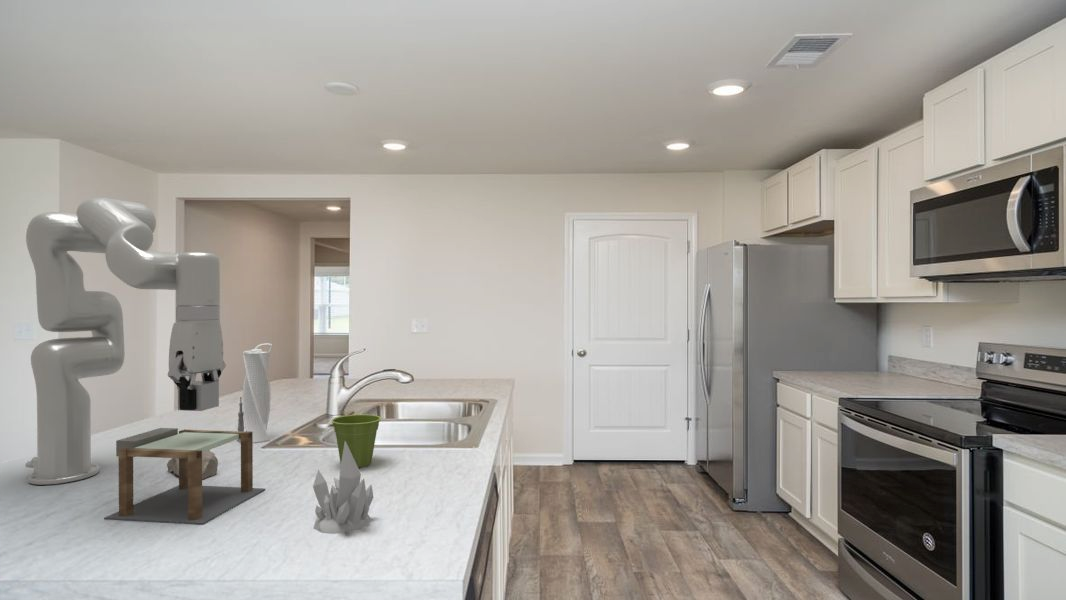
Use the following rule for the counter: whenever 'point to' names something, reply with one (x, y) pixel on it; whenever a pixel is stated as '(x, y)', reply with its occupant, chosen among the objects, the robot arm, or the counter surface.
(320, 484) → the crystal
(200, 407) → the stone block
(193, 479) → the frame
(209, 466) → the concrete fragment
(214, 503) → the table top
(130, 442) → the trapdoor
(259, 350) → the skyscraper
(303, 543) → the counter surface
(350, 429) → the plant pot
